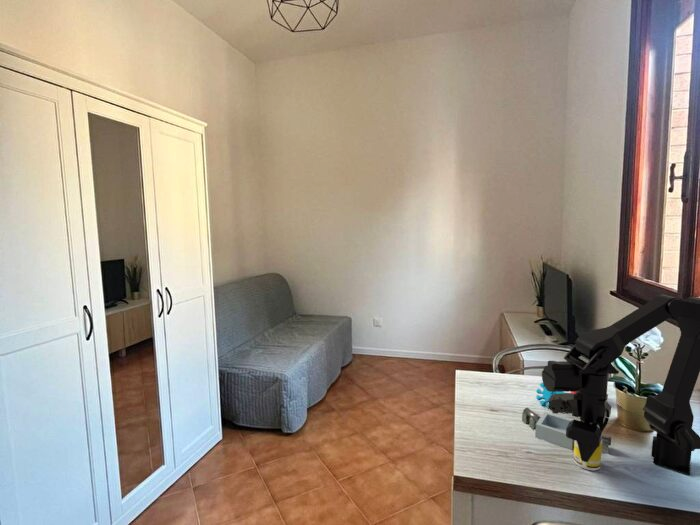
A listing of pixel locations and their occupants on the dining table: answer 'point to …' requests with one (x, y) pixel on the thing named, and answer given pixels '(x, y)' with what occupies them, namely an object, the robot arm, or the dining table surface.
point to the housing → (554, 430)
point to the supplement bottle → (593, 462)
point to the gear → (545, 395)
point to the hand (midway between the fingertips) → (587, 453)
